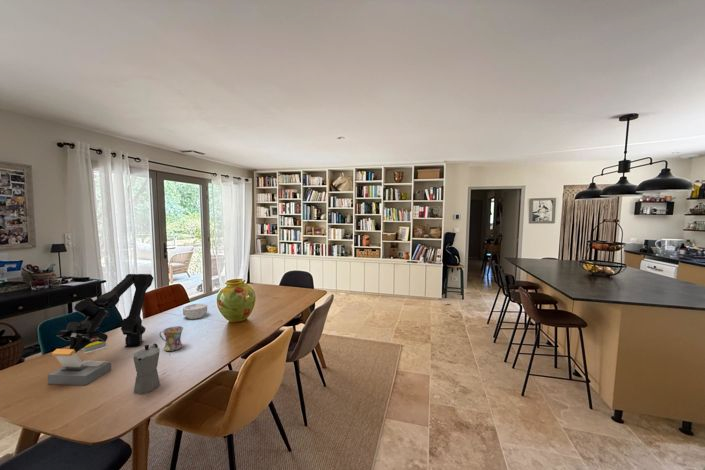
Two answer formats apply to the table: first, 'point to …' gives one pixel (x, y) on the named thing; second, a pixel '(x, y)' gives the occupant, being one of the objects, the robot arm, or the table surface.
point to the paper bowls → (195, 311)
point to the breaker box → (80, 373)
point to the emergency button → (94, 346)
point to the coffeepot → (146, 369)
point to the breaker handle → (68, 358)
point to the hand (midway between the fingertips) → (69, 355)
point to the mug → (172, 338)
